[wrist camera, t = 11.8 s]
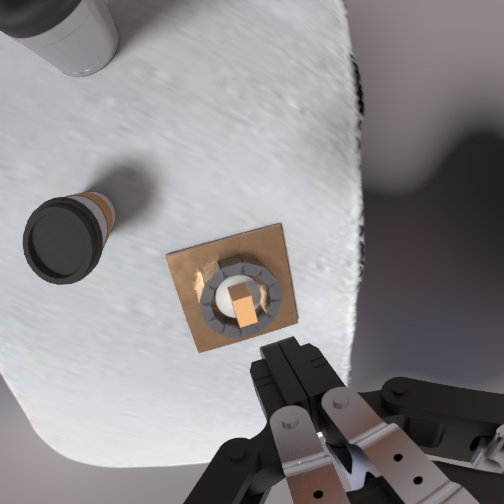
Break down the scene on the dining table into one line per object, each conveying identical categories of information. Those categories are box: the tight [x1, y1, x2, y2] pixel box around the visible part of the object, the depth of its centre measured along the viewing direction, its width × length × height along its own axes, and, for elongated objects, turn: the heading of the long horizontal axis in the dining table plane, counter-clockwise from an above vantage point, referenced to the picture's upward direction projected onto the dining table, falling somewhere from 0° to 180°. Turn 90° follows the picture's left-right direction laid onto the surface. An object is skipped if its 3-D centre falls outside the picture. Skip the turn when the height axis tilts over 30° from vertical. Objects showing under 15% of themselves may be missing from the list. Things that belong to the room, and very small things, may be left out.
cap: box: [215, 274, 261, 328], centre depth 43 cm, size 6×6×6 cm
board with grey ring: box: [166, 224, 298, 353], centre depth 45 cm, size 16×16×4 cm
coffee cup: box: [23, 192, 115, 285], centre depth 32 cm, size 8×8×15 cm
